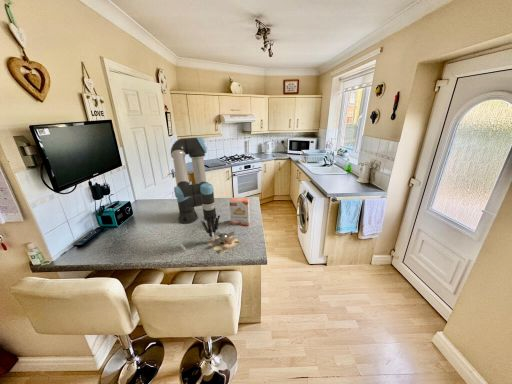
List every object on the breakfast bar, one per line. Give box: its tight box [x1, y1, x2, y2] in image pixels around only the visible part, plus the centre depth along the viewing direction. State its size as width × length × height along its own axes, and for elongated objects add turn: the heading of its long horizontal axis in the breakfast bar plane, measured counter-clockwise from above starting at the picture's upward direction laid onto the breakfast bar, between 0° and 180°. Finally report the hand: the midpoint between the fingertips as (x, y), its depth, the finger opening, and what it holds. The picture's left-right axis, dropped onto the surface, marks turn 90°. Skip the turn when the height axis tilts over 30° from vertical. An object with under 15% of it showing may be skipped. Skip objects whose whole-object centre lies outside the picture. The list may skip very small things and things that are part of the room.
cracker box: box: [229, 197, 251, 227], centre depth 152 cm, size 14×6×21 cm, turn 84°
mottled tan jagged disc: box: [206, 232, 242, 255], centre depth 132 cm, size 17×17×3 cm
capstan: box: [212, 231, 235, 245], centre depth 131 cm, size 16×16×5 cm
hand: (213, 240), depth 132 cm, fingers closed
